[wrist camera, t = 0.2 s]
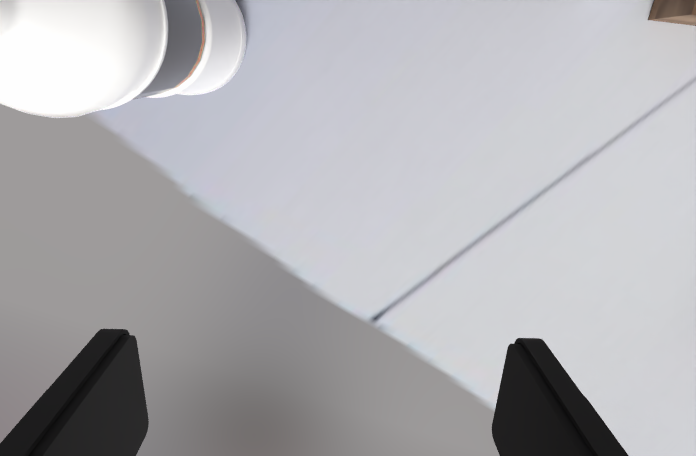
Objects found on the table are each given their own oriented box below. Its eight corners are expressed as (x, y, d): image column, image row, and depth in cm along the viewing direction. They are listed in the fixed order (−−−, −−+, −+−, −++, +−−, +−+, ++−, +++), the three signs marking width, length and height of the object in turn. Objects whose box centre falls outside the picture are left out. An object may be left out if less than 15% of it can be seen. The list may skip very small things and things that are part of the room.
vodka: (156, 103, 38) (-332, 225, 10) (116, -17, 35) (-758, -313, 7) (261, 81, 38) (48, 149, 10) (230, -42, 35) (-217, -461, 7)
